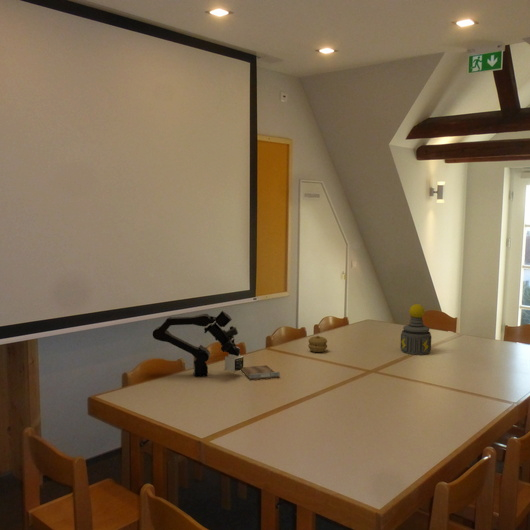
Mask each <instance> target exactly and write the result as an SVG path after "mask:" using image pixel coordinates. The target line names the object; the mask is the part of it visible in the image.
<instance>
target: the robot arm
mask: <svg viewBox="0 0 530 530" xmlns="http://www.w3.org/2000/svg"><path fill="white" fill-rule="evenodd" d="M230 322H232V317H231V316H230V315H229V314H228V313H226V312H225V311H224V310H222V311H221V312H219V314H218V315H217V316H211V315H209V314H208V313H202V314H199V315H194V316H177V317H176V316H175V317H174V316H173V317H172V316H169V317H167V318H166V320H165V321H164V322H163V323H162V324H161V325H160V326H158V327H156V328H155V329H154V330H153V332H152V337H153V339H154V340H157V341H160V342H166V343H169V344H171V345H173V346H174V347H177V348H179V349H181V350H183V351H184V352H187V353H189V354H191V355H192V356H193V357H194V361H193V373H192V374H193V375H194V377H196V378H198V377H199V378H200V377H208V374H209V373H208V371H209V370H208V369H209V367H208V365H207V363H206V362H208V360H209V359H210V356H211V352H210V350H208V347H204V346H203V345H202V344H200V345H199V346H196V345H193V344H192V343H189V342H187V341H185V340H183V339H181V338H180V337H178V336H175V335H173V334H172V333H171V332H170V331H169V330H168V329H169V328H170V327H171V326H184V325H185V326H187V325H193V326H199V327H204V328H203V330H204V331H203V332H204V334H207V332H208V333H209V334H211V336H212V337H213V338H214V339H215V340H216V341H217V342H218V343H219V344H220V350H221V352H223V353H228V354H229V353H231V354H233V355H236V356H240V355H239V354H238V352H237V351H236V349H235V348H234V347H238V346H237V345H236V343H235V336H236V335H237V336H238V334H239V332H238V330H237V327H236V326H235V327H234V326H233V325H231V326H229V329H227V330H225V329H222V328H225V327H227V325H228V324H229V323H230Z"/></svg>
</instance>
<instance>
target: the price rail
mask: <svg viewBox="0 0 530 530" xmlns="http://www.w3.org/2000/svg"><path fill="white" fill-rule="evenodd" d="M275 376H280V377H281V375H280V371H274V372H270V373H258V374H249V378H250V379H252V378H264V377H275Z"/></svg>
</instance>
